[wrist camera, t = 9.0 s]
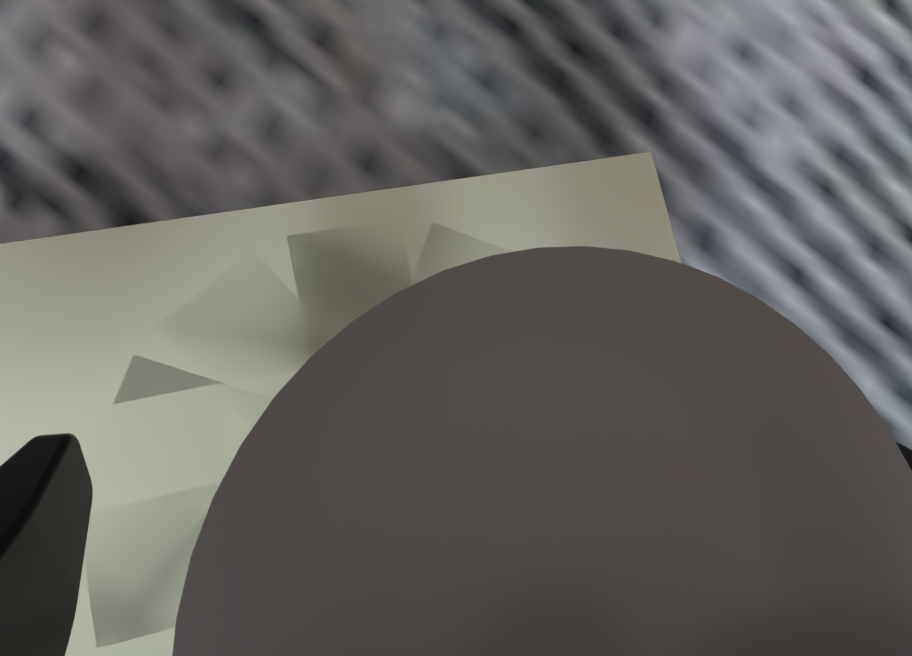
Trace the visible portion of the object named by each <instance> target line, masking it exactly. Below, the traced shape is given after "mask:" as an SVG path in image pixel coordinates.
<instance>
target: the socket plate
mask: <svg viewBox="0 0 912 656" xmlns="http://www.w3.org/2000/svg"><path fill="white" fill-rule="evenodd" d="M570 246H589V247H599V248H610V249H620V250H630V251H634V252H639V253H643V254H647V255H651V256H656V257H660V258H664V259H668V260H673V261H676V262H679V263H681V260H680V256H679V253H678V249H677V245H676V242H675V238H674V234H673V231H672V227H671V223H670V219H669V216H668V212H667V208H666V205H665V201H664V197H663V194H662V190H661V186H660V183H659V179H658V175H657V171H656V168H655V164H654V160H653V157H652V153H651V152H645V153H638V154H631V155H624V156H617V157H610V158H603V159H596V160H589V161H582V162H574V163H567V164H560V165H553V166H546V167H539V168H532V169H525V170H518V171H511V172H504V173H497V174H490V175H483V176H476V177H469V178H461V179H454V180H447V181H440V182H433V183H426V184H419V185H412V186H405V187H398V188H391V189H384V190H377V191H370V192H363V193H356V194H348V195H341V196H334V197H327V198H320V199H313V200H306V201H299V202H292V203H285V204H278V205H271V206H264V207H257V208H250V209H243V210H235V211H228V212H221V213H214V214H207V215H200V216H193V217H186V218H179V219H172V220H165V221H158V222H151V223H144V224H137V225H130V226H122V227H115V228H108V229H101V230H94V231H87V232H80V233H73V234H66V235H59V236H52V237H45V238H38V239H31V240H24V241H17V242H9V243H2V244H0V466H1V465H2V464H3V463H4V462H5V461H7V460H8V459H9V458H10V457H11V456H12V455H13V454H15V453H16V452H17V451H18V450H19V449H20V448H21V447H23V446H24V445H25V444H26V443H27V442H28V441H30V440H31V439H32V438H34V437H36V436H39V435H48V434H62V433H70V434H73V435H75V436H76V438H77V439H78V441H79V443H80V446H81V449H82V452H83V455H84V459H85V462H86V465H87V468H88V471H89V474H90V477H91V481H92V488H93V498H92V506H91V513H90V520H89V526H88V533H87V540H86V547H85V553H84V560H83V567H82V574H81V581H80V587H79V594H78V601H77V607H76V612H75V618H74V623H73V627H72V631H71V635H70V639H69V643H68V646H67V650H66V654H65V656H172V654H173V644H174V635H175V625H176V617H177V613H178V609H179V605H180V600H181V596H182V592H183V588H184V583H185V579H186V575H187V571H188V567H189V562H190V558H191V555H192V552H193V549H194V547H195V544H196V541H197V539H198V536H199V533H200V531H201V528H202V525H203V523H204V520H205V517H206V515H207V512H208V509H209V507H210V504H211V501H212V499H213V497H214V495H215V493H216V491H217V489H218V487H219V485H220V483H221V481H222V479H223V478H224V476H225V474H226V472H227V470H228V468H229V466H230V464H231V462H232V460H233V459H234V457H235V455H236V453H237V451H238V449H239V447H240V445H241V444H242V442H243V441H244V439H245V438H246V437H247V435H248V434H249V432H250V431H251V429H252V428H253V427H254V425H255V424H256V422H257V421H258V419H259V418H260V417H261V415H262V414H263V412H264V411H265V409H266V408H267V407H268V405H269V404H270V402H271V401H272V399H273V398H274V397H275V396H276V394H277V393H278V392H279V391H280V390H281V389H282V388H283V387H284V386H285V385H286V383H287V382H288V381H289V380H290V379H291V378H292V377H293V376H294V375H295V374H296V372H297V371H298V370H299V369H300V368H301V367H302V366H303V365H304V364H305V363H306V361H307V360H308V359H309V358H310V357H311V356H312V355H313V354H314V353H315V352H317V351H318V350H319V349H320V348H321V347H323V346H324V345H325V344H326V343H327V342H328V341H330V340H331V339H332V338H333V337H334V336H336V335H337V334H338V333H339V332H340V331H341V330H343V329H344V328H345V327H346V326H347V325H349V324H350V323H351V322H352V321H353V320H355V319H356V318H358V317H359V316H361V315H362V314H364V313H366V312H367V311H369V310H370V309H372V308H373V307H375V306H376V305H378V304H380V303H381V302H383V301H384V300H386V299H387V298H389V297H390V296H392V295H394V294H395V293H397V292H398V291H401V290H403V289H405V288H407V287H409V286H411V285H413V284H416V283H418V282H420V281H422V280H424V279H426V278H428V277H430V276H433V275H435V274H437V273H439V272H441V271H443V270H446V269H450V268H453V267H456V266H459V265H462V264H465V263H469V262H472V261H475V260H478V259H481V258H485V257H488V256H492V255H497V254H503V253H509V252H515V251H521V250H527V249H532V248H541V247H570Z"/></svg>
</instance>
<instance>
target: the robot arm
mask: <svg viewBox="0 0 912 656" xmlns="http://www.w3.org/2000/svg"><path fill="white" fill-rule="evenodd" d="M896 444H897V445H898V447H899V449H900V451H901V453H902V454H903V456H904V458H905V460H906V462H907V463H908V465H909V467H910V469H911V471H912V450H911V449H909V448H907V447H905V446H903V445H901V444H899V443H897V442H896ZM92 498H93V488H92V481H91V477H90V474H89V471H88V468H87V465H86V462H85V459H84V455H83V452H82V449H81V446H80V443H79V441H78V439H77V438H76V436H75V435H73V434H70V433H62V434H48V435H39V436H36V437H34V438H32V439H31V440H30V441H28V442H27V443H26V444H25V445H24V446H23V447H21V448H20V449H19V450H18V451H17V452H16V453H15V454H13V455H12V456H11V457H10V458H9V459H8V460H7V461H5V462H4V463H3V464H2V465H1V466H0V656H65V654H66V650H67V646H68V643H69V639H70V635H71V631H72V627H73V623H74V618H75V612H76V607H77V601H78V594H79V587H80V581H81V574H82V567H83V560H84V553H85V547H86V540H87V533H88V526H89V520H90V513H91V506H92Z"/></svg>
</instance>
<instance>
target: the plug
mask: <svg viewBox="0 0 912 656" xmlns="http://www.w3.org/2000/svg"><path fill="white" fill-rule="evenodd" d="M172 656H912V471H911V469H910V467H909V465H908V463H907V462H906V460H905V458H904V456H903V454H902V453H901V451H900V449H899V447H898V445H897V444H896V442H895V440H894V438H893V437H892V435H891V433H890V431H889V429H888V428H887V426H886V425H885V423H884V422H883V421H882V419H881V418H880V416H879V415H878V414H877V412H876V411H875V409H874V408H873V407H872V405H871V404H870V402H869V401H868V400H867V398H866V397H865V395H864V394H863V393H862V391H861V390H860V389H859V387H858V386H857V385H856V384H855V383H854V382H853V381H852V380H851V378H850V377H849V376H848V375H847V374H846V373H845V372H844V371H843V370H842V368H841V367H840V366H839V365H838V364H837V363H836V362H835V361H834V359H833V358H832V357H831V356H830V355H829V354H828V353H827V352H826V351H824V350H823V349H822V348H821V347H820V346H819V345H818V344H817V343H815V342H814V341H813V340H812V339H811V338H810V337H809V336H808V335H806V334H805V333H804V332H803V331H802V330H801V329H800V328H799V327H797V326H796V325H795V324H794V323H792V322H791V321H790V320H788V319H787V318H785V317H784V316H782V315H781V314H779V313H778V312H777V311H775V310H774V309H772V308H771V307H769V306H768V305H767V304H765V303H764V302H762V301H761V300H759V299H758V298H756V297H754V296H752V295H751V294H749V293H747V292H745V291H743V290H741V289H739V288H737V287H735V286H733V285H732V284H730V283H728V282H726V281H724V280H722V279H720V278H718V277H716V276H713V275H711V274H708V273H705V272H703V271H700V270H697V269H695V268H692V267H689V266H687V265H684V264H681V263H679V262H676V261H673V260H668V259H664V258H660V257H656V256H651V255H647V254H643V253H639V252H634V251H630V250H620V249H610V248H599V247H589V246H570V247H541V248H532V249H527V250H521V251H515V252H509V253H503V254H497V255H492V256H488V257H485V258H481V259H478V260H475V261H472V262H469V263H465V264H462V265H459V266H456V267H453V268H450V269H446V270H443V271H441V272H439V273H437V274H435V275H433V276H430V277H428V278H426V279H424V280H422V281H420V282H418V283H416V284H413V285H411V286H409V287H407V288H405V289H403V290H401V291H398V292H397V293H395V294H394V295H392V296H390V297H389V298H387V299H386V300H384V301H383V302H381V303H380V304H378V305H376V306H375V307H373V308H372V309H370V310H369V311H367V312H366V313H364V314H362V315H361V316H359V317H358V318H356V319H355V320H353V321H352V322H351V323H350V324H349V325H347V326H346V327H345V328H344V329H343V330H341V331H340V332H339V333H338V334H337V335H336V336H334V337H333V338H332V339H331V340H330V341H328V342H327V343H326V344H325V345H324V346H323V347H321V348H320V349H319V350H318V351H317V352H315V353H314V354H313V355H312V356H311V357H310V358H309V359H308V360H307V361H306V363H305V364H304V365H303V366H302V367H301V368H300V369H299V370H298V371H297V372H296V374H295V375H294V376H293V377H292V378H291V379H290V380H289V381H288V382H287V383H286V385H285V386H284V387H283V388H282V389H281V390H280V391H279V392H278V393H277V394H276V396H275V397H274V398H273V399H272V401H271V402H270V404H269V405H268V407H267V408H266V409H265V411H264V412H263V414H262V415H261V417H260V418H259V419H258V421H257V422H256V424H255V425H254V427H253V428H252V429H251V431H250V432H249V434H248V435H247V437H246V438H245V439H244V441H243V442H242V444H241V445H240V447H239V449H238V451H237V453H236V455H235V457H234V459H233V460H232V462H231V464H230V466H229V468H228V470H227V472H226V474H225V476H224V478H223V479H222V481H221V483H220V485H219V487H218V489H217V491H216V493H215V495H214V497H213V499H212V501H211V504H210V507H209V509H208V512H207V515H206V517H205V520H204V523H203V525H202V528H201V531H200V533H199V536H198V539H197V541H196V544H195V547H194V549H193V552H192V555H191V558H190V562H189V567H188V571H187V575H186V579H185V583H184V588H183V592H182V596H181V600H180V605H179V609H178V613H177V617H176V625H175V635H174V644H173V654H172Z"/></svg>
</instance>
